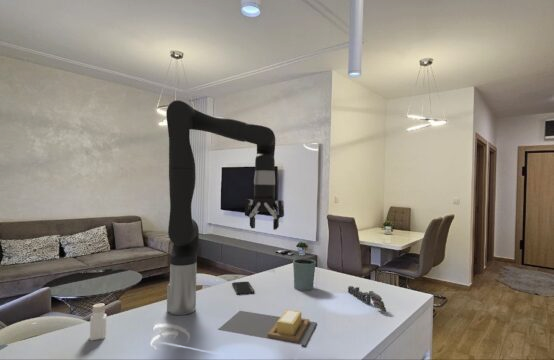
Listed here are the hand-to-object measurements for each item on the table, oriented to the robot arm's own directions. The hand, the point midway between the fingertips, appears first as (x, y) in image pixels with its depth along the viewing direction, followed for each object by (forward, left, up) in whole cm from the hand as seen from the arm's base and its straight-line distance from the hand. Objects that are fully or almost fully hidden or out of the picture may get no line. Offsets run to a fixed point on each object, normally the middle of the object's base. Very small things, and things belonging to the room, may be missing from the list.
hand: (263, 228), depth 115 cm
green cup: (+7, +33, -30) cm, 45 cm away
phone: (-18, +22, -31) cm, 42 cm away
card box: (+13, -10, -30) cm, 34 cm away
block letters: (+34, +24, -30) cm, 52 cm away
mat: (+6, -10, -30) cm, 32 cm away
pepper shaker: (-39, -34, -30) cm, 60 cm away
